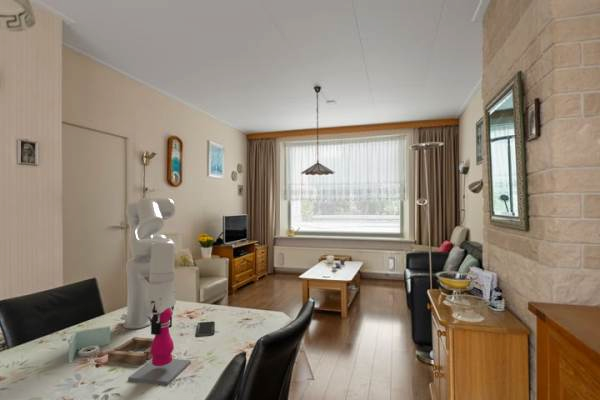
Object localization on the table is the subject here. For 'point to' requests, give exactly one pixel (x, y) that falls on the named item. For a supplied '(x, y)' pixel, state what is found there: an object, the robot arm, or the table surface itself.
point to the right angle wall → (88, 341)
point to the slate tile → (159, 372)
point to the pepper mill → (163, 341)
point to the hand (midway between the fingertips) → (161, 330)
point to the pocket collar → (125, 356)
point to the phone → (205, 329)
